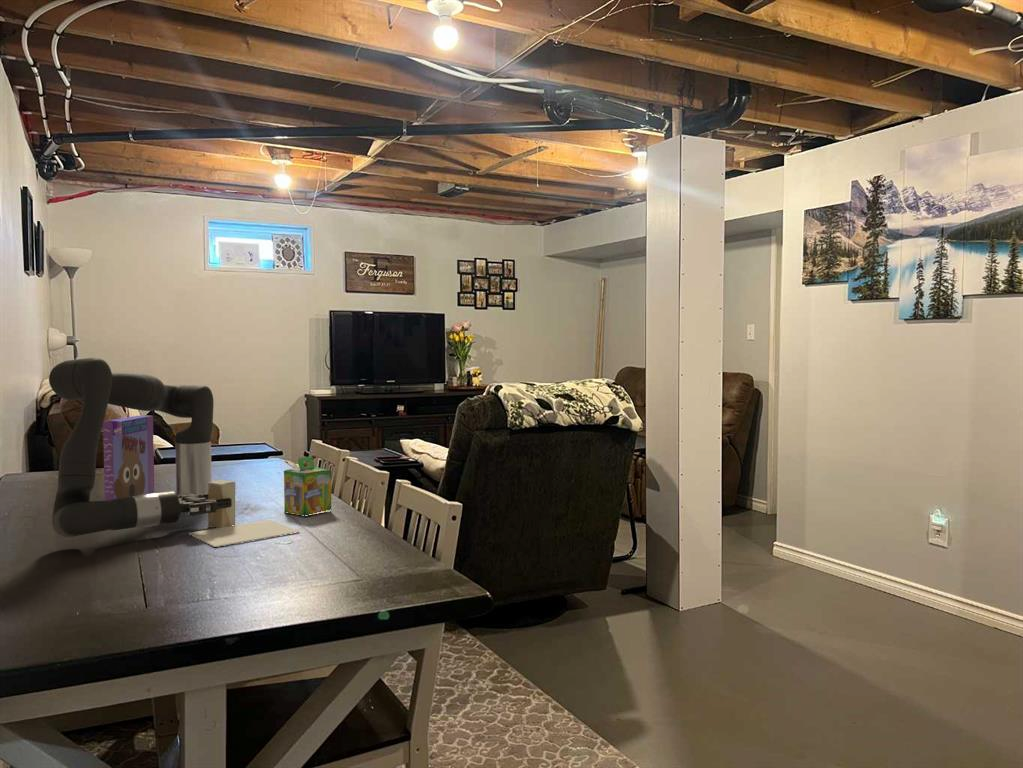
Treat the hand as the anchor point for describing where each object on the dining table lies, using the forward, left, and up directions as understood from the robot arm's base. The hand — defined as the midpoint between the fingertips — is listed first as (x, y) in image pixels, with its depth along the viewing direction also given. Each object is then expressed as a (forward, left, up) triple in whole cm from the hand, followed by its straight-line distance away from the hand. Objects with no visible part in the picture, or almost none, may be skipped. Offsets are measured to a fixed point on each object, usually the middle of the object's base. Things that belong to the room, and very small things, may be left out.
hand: (224, 499), depth 182 cm
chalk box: (0, +22, -7) cm, 23 cm away
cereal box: (-46, -9, -7) cm, 47 cm away
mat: (+11, 0, -7) cm, 13 cm away
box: (0, -1, -7) cm, 7 cm away
